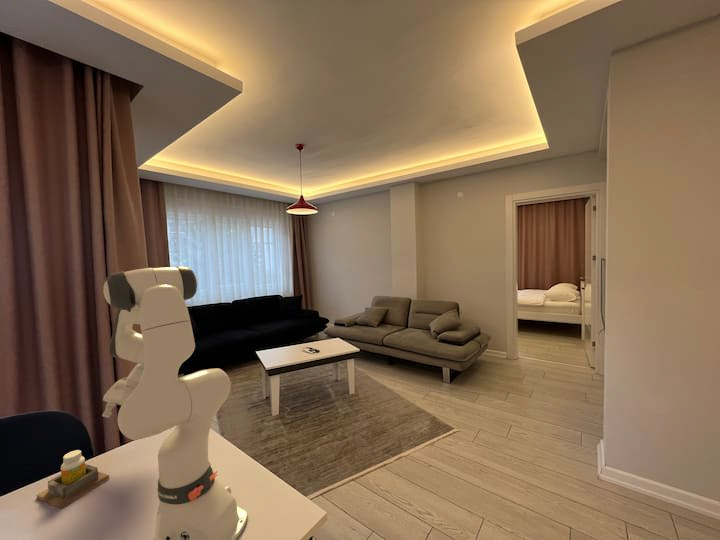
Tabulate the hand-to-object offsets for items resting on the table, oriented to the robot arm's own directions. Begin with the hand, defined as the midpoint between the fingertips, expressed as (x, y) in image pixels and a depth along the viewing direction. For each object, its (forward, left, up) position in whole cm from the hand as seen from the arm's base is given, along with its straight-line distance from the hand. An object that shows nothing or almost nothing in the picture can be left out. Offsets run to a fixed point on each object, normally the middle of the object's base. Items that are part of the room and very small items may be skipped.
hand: (114, 419), depth 103 cm
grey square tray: (0, +12, -15) cm, 20 cm away
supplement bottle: (0, +12, -14) cm, 19 cm away
